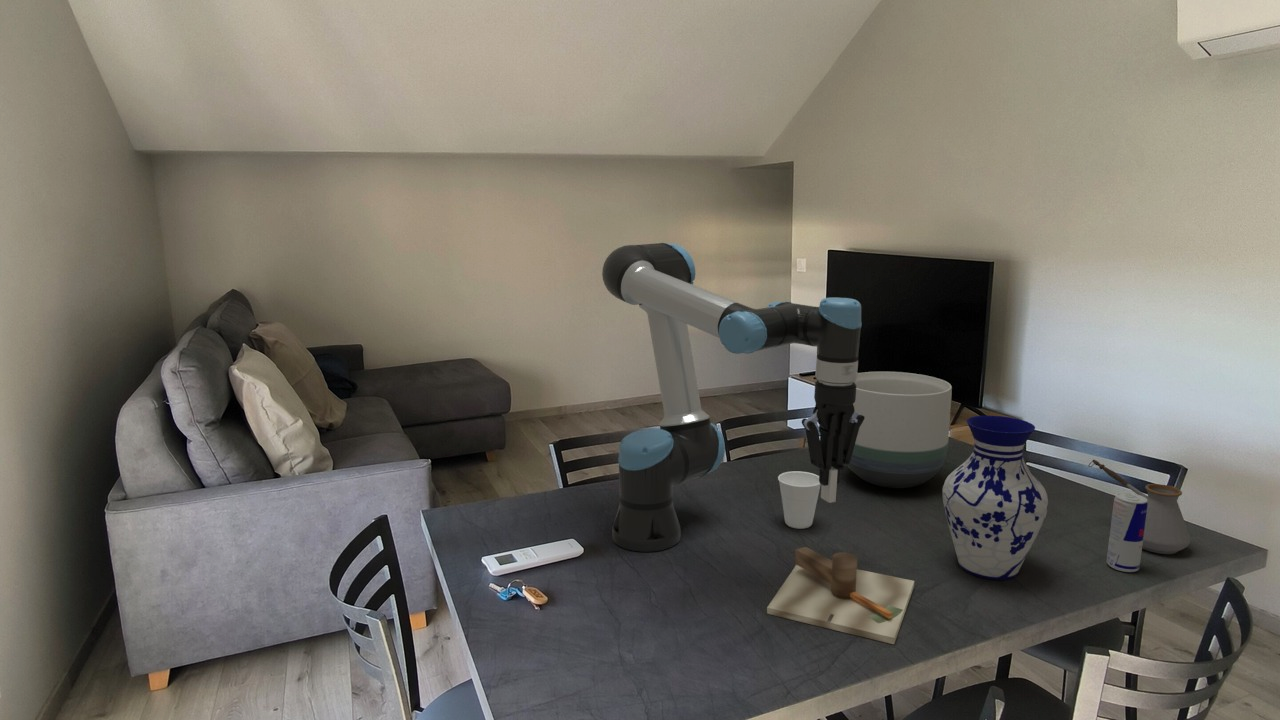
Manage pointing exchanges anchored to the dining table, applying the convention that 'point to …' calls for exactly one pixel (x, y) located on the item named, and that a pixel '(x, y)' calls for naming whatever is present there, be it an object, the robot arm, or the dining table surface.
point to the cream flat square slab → (844, 604)
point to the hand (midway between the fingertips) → (828, 499)
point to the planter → (900, 428)
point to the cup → (799, 497)
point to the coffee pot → (1159, 517)
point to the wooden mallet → (837, 574)
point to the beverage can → (1127, 531)
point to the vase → (994, 500)
